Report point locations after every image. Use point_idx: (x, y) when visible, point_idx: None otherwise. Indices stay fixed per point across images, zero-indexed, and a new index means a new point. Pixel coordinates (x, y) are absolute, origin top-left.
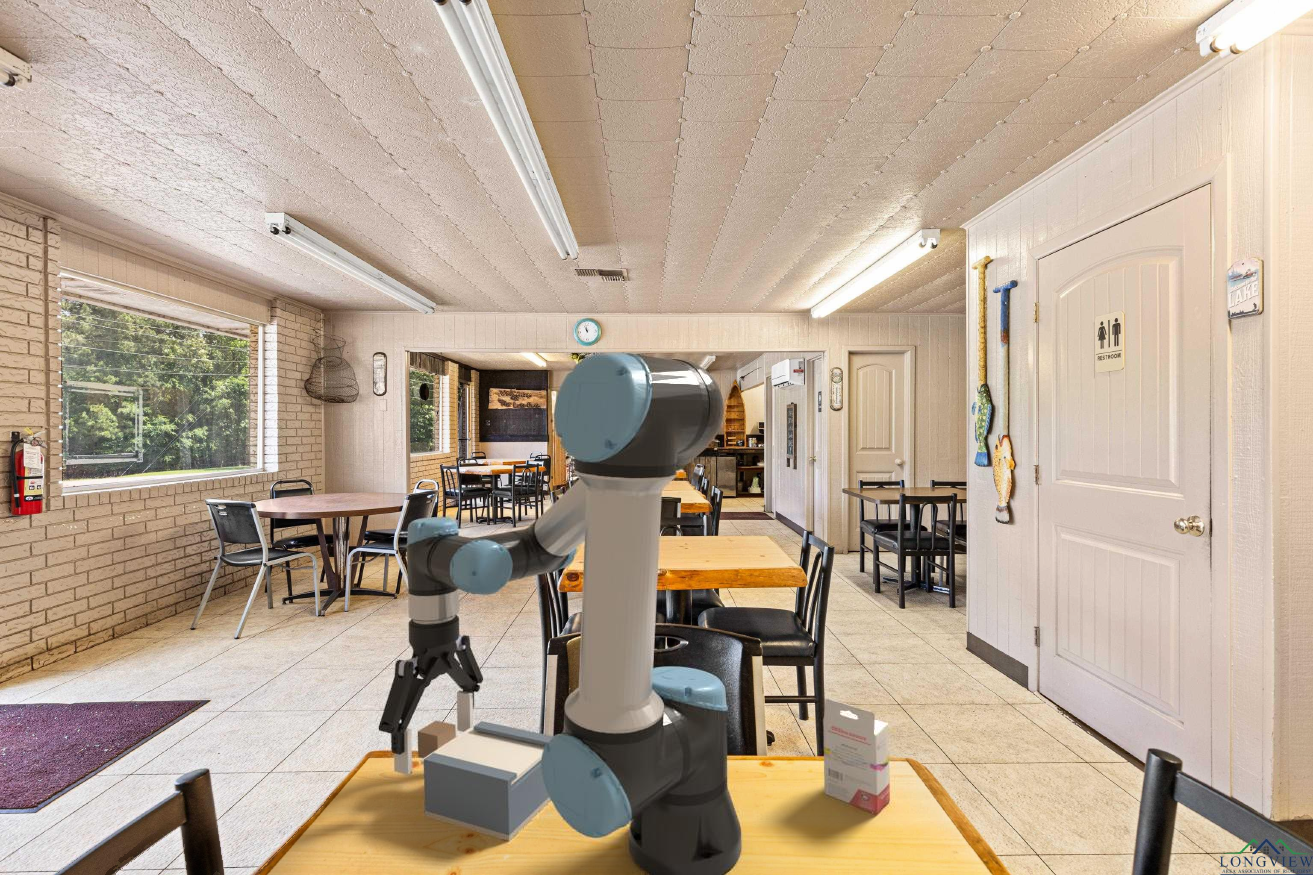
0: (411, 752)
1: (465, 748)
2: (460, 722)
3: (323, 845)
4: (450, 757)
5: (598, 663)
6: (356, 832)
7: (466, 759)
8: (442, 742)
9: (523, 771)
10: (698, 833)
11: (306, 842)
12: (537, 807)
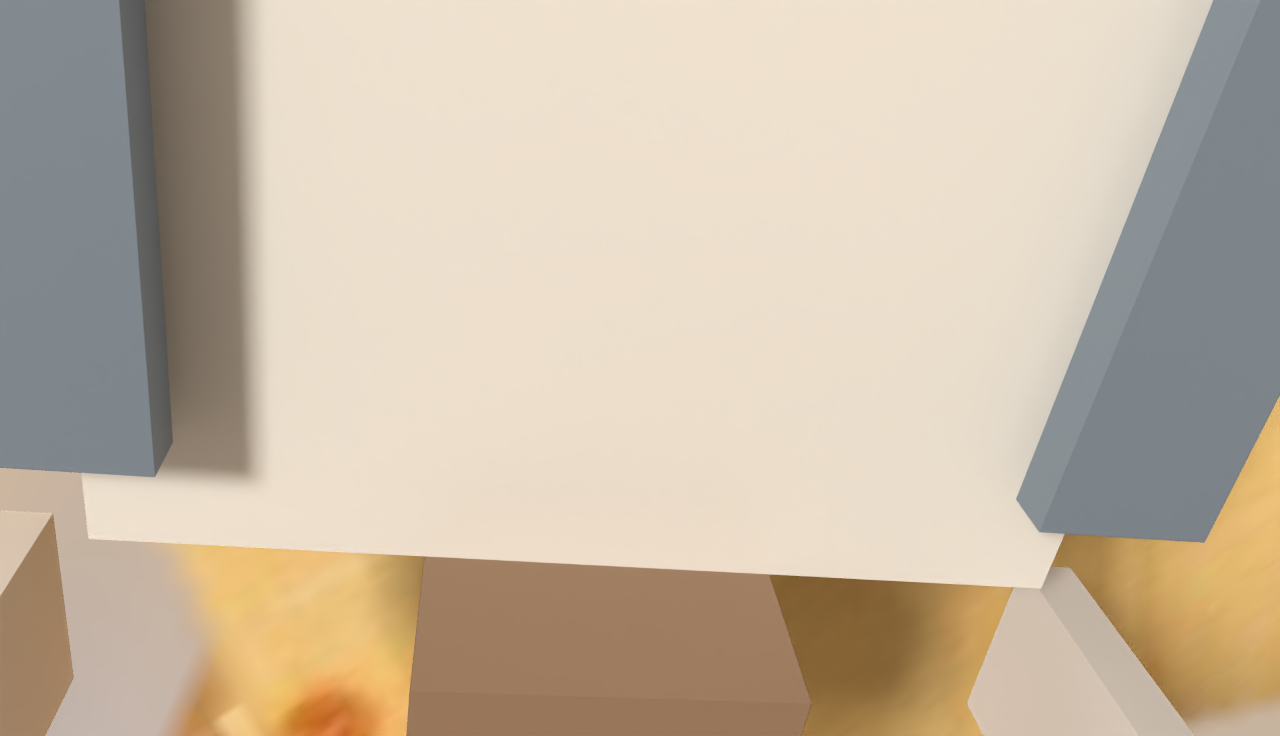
0: (1139, 728)
1: (685, 254)
2: (23, 724)
3: (1250, 615)
4: (1174, 244)
5: None
6: (1134, 543)
7: (1004, 45)
8: (685, 599)
9: None
10: None
11: (1218, 701)
12: None
